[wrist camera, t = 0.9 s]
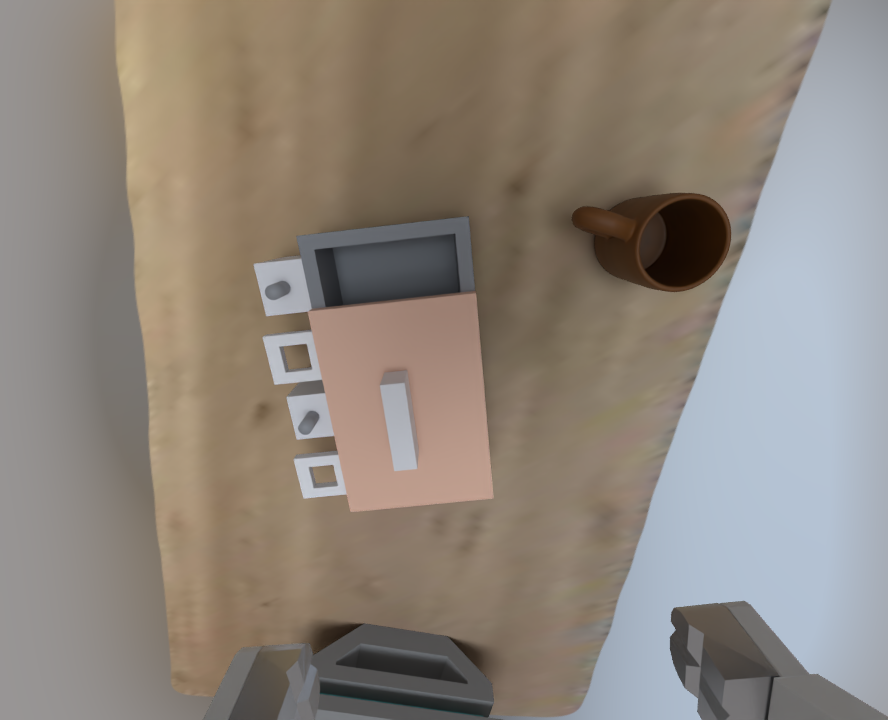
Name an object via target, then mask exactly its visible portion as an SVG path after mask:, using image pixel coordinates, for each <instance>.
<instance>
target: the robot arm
mask: <svg viewBox="0 0 888 720" xmlns="http://www.w3.org/2000/svg"><path fill="white" fill-rule="evenodd" d="M671 622H672V624H673V625H674V627H675V629H676V631H675V632H674V633H673V634H672V635H671V637H670V651H671V655H672V660H673V664H674V666H675V669H676V671H677V673H678V676H679V678H680V680H681V682H682V683H683V686H684V687H685V688H686V689H687V690H688V691H689V692H690V693H692V694H693V695H694V696H696V697H697V698H698V710H697V712H698V713H699V715H700V717H701V719H702V720H888V717H887V716H886V715H884V714H882V713H881V712H879V711H877V710H876V709H874V708H872V707H871V706H869V705H868V704H866V703H864V702H863V701H861V700H859V699H858V698H856V697H854V696H853V695H851V694H849V693H848V692H846V691H845V690H843V689H841V688H839V687H838V686H836V685H835V684H833V683H831V682H830V681H828V680H826V679H825V678H823V677H822V676H820V675H818V674H809V673H808V672H807V671H806V670H805V669H804V667H803V666H802V665H801V664H800V663H799V661H798V660H797V659H796V658H795V657H794V655H793V654H792V653H791V652H790V651H789V650H788V648H787V647H786V646H785V645H784V644H783V642H782V641H781V640H780V639H779V638H778V637H777V636H776V634H775V633H774V632H773V631H772V630H771V628H770V627H769V626H768V625H767V624H766V623H765V621H764V620H763V619H762V618H761V617H760V615H759V614H758V613H757V612H756V611H755V610H754V608H753V607H752V606H751V605H750V604H748V603H747V602H745V601H738V602H728V603H720V604H718V603H714V604H704V605H695V606H686V607H676V608H674V609H673V611H672V614H671ZM312 657H313V652H312V649H311V646H310V643H300V644H284V645H268V646H256V647H243V648H241V649H240V650H239V651H238V652H237V653H236V655H235V656H234V658H233V660H232V662H231V664H230V666H229V668H228V670H227V672H226V674H225V676H224V678H223V680H222V682H221V684H220V686H219V688H218V690H217V692H216V694H215V696H214V699H213V700H212V702H211V704H210V706H209V709H208V711H207V713H206V715H205V717H204V719H203V720H315V717H316V713H317V709H318V705H319V695H320V681H319V675H318V671H317V669H316V668H315V667H314V666H312V665H311V664H310V663H311V660H312Z"/></svg>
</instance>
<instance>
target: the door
mask: <svg viewBox="0 0 888 720" xmlns="http://www.w3.org/2000/svg"><path fill="white" fill-rule="evenodd" d="M308 316H309V321H310V325H311V330H304V331H294V332H285V333H276V334H267V335H265V336H263V341H264V345H265V348H266V352H267V356H268V360H269V364H270V368H271V372H272V376H273V380H274V384H275V385H276V384H286V383H296V382H305V381H315V380H322V381H323V386H324V390H325V395H326V400H327V404H328V409H329V414H330V418H331V423H332V428H333V432H334V437H335V442H336V446H337V451H329V452H319V453H309V454H299V455H296V456H295V458H294V463H295V467H296V470H297V474H298V478H299V482H300V486H301V490H302V494H303V498H313V497H323V496H333V495H344V494H347V498H348V502H349V507H350V512H357V511H367V510H378V509H388V508H398V507H409V506H419V505H430V504H440V503H450V502H461V501H471V500H481V499H492V498H493V487H492V475H491V463H490V451H489V439H488V428H487V416H486V404H485V392H484V380H483V368H482V356H481V344H480V333H479V321H478V309H477V297H476V292H475V291H469V292H460V293H451V294H442V295H433V296H424V297H415V298H406V299H397V300H387V301H378V302H369V303H360V304H351V305H342V306H333V307H324V308H314V309H311V310H309V311H308ZM299 344H307V347H308V352H309V357H310V361H311V366H312V367H309V368H300V369H290V370H289V369H288V365H287V361H286V357H285V352H284V348H283V346H290V345H299ZM325 465H334V470H335V474H336V479H337V482H327V483H317V484H316V482H315V478H314V473H313V469H312V467H315V466H325Z"/></svg>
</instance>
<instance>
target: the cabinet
mask: <svg viewBox="0 0 888 720" xmlns="http://www.w3.org/2000/svg"><path fill="white" fill-rule="evenodd" d="M297 241H298V246H299V250H300V255H298V256H289V257H282V258H278V259H273V260H269V261H265V262H260V263H256V264H254V268H255V272H256V276H257V280H258V284H259V288H260V292H261V296H262V300H263V305H264V309H265V313H266V316H272V315H281V314H290V313H299V312H308V311H309V310H311V309H314V308H324V307H333V306H342V305H351V304H360V303H369V302H378V301H387V300H397V299H406V298H415V297H424V296H433V295H442V294H451V293H460V292H469V291H475V285H474V273H473V261H472V249H471V238H470V226H469V216H467V217H458V218H449V219H441V220H432V221H423V222H415V223H406V224H397V225H388V226H380V227H371V228H362V229H353V230H345V231H336V232H327V233H318V234H310V235H301V236H297ZM286 398H287V402H288V406H289V410H290V414H291V418H292V422H293V426H294V430H295V434H296V438H297V440H298V439H308V438H318V437H328V436H334V432H333V428H332V423H331V418H330V414H329V409H328V404H327V400H326V395H325V390H324V386H323V381H322V380H315V381H305V382H299V383H298V384H297V386H296V387H295V388H294V389H293V390H292V391H291V392H290V394H289V395H288V396H287V397H286Z"/></svg>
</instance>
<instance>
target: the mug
mask: <svg viewBox="0 0 888 720" xmlns="http://www.w3.org/2000/svg"><path fill="white" fill-rule="evenodd" d="M572 222H573V224H574V226H575V227H577V228H579V229H581V230H583V231H586V232H589V233H592V234H595V235H596V237H595V251H596V255H597V258H598V260H599V262H600V264H601V265H602V266H603V268H604V269H605V270H606V271H607V272H609V273H610V274H612V275H614V276H616V277H618V278H621V279H623V280H627V281H629V282H632V283H635V284H638V285H641V286H644V287H647V288H651V289H655V290H662V291H668V292H680V291H686V290H689V289H692V288H694V287H696V286H698V285H700V284H702V283H704V282H705V281H706V280H708V279H709V278H710V277H711V276H712V275H713V274H714V273H715V272H716V271H717V270H718V269H719V267H720V266H721V265H722V263H723V261H724V260H725V258H726V255H727V253H728V250H729V247H730V241H731V226H730V222H729V219H728V217H727V214H726V213H725V211H724V209H723V208H722V207H721V206H720V205H719V204H718V203H717V202H716V201H715V200H713V199H711V198H710V197H707V196H705V195H701V194H694V193H670V194H662V195H653V196H647V197H639V198H634V199H630V200H627V201H624V202H622V203H620V204H618V205H617V206H615V207H614V208H613V209H611V210H610V211H607V210H604V209H600V208H595V207H580V208H578V209H577V210H575V211H574V213H573V215H572Z"/></svg>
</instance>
